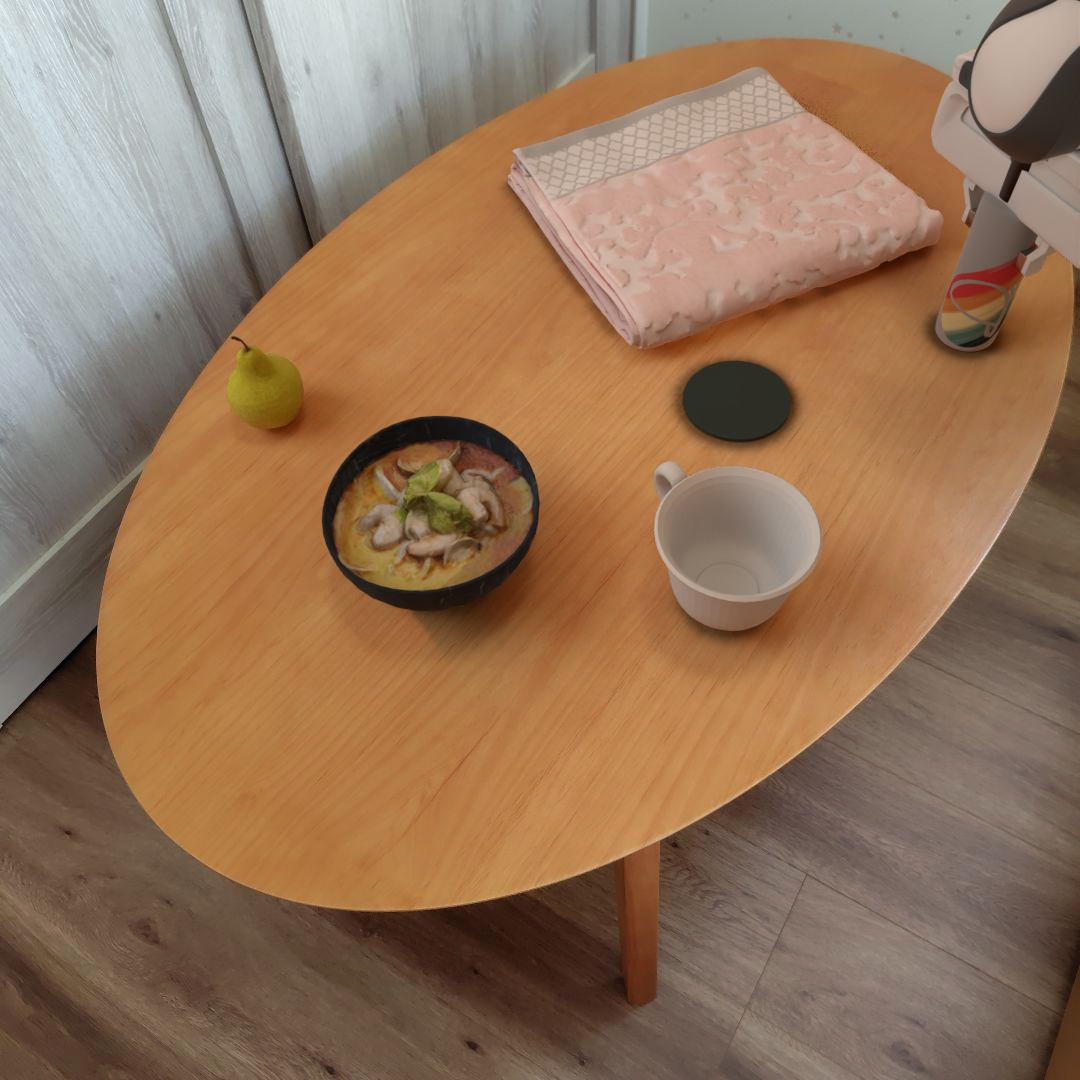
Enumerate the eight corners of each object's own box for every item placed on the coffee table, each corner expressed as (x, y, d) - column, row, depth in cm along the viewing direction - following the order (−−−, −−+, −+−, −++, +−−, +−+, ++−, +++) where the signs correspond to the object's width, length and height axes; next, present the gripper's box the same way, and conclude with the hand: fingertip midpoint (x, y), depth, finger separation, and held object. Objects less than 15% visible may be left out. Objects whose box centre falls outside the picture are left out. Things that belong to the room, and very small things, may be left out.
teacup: (709, 494, 82) (719, 417, 74) (833, 612, 75) (859, 540, 67) (598, 564, 79) (596, 492, 71) (717, 695, 71) (730, 630, 63)
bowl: (336, 656, 76) (302, 591, 67) (355, 487, 85) (328, 413, 77) (548, 646, 75) (540, 579, 67) (543, 477, 85) (535, 400, 76)
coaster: (755, 350, 92) (755, 347, 92) (811, 419, 86) (812, 416, 86) (663, 384, 90) (663, 381, 90) (715, 456, 85) (716, 453, 84)
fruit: (256, 387, 93) (214, 293, 84) (322, 393, 92) (287, 298, 83) (232, 440, 90) (184, 347, 80) (299, 447, 89) (260, 353, 79)
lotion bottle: (962, 361, 89) (1041, 175, 73) (921, 326, 92) (987, 139, 76) (1008, 338, 91) (1095, 150, 74) (966, 304, 94) (1040, 116, 77)
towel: (764, 98, 116) (770, 52, 112) (942, 254, 98) (958, 207, 93) (500, 185, 110) (495, 140, 105) (637, 371, 91) (639, 326, 86)
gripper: (1198, 156, 67) (1113, 306, 78) (1006, 27, 78) (956, 175, 89) (1126, 182, 66) (1050, 331, 77) (942, 47, 77) (899, 195, 88)
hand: (998, 246), depth 83 cm, fingers closed on lotion bottle, 6 cm apart
